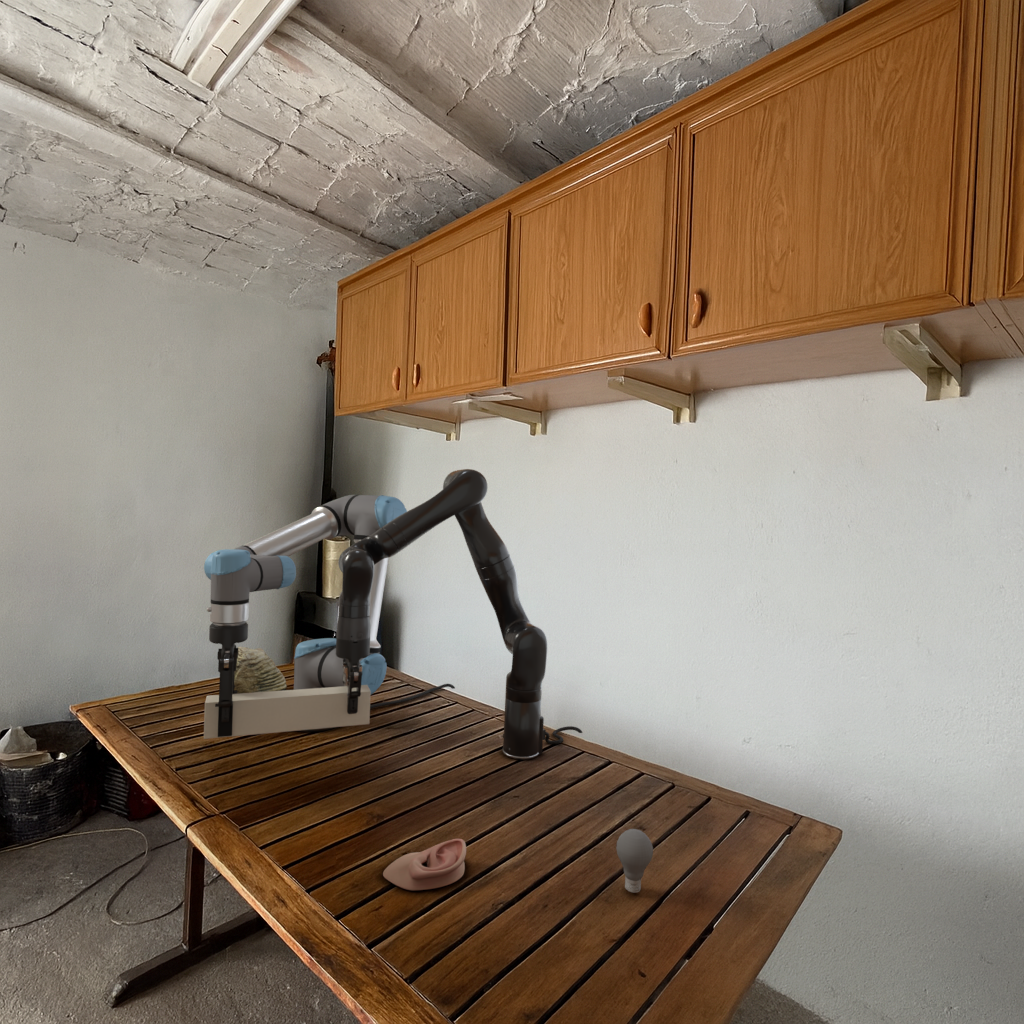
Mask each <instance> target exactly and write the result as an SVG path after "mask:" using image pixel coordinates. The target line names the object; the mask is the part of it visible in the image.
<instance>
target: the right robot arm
mask: <svg viewBox="0 0 1024 1024" xmlns="http://www.w3.org/2000/svg"><path fill="white" fill-rule="evenodd" d="M488 486H489V485H488V482H487V478H486V477H485V476H484V475H483V473H481V472H480V471H478V470H476V469H470V468H464V469H457V470H453V471H451V472H449V473H448V474H447V475H446V477H445V478H444V480H443V484H442V490H441V491H439V492H438V493H436V494H435V495H434V496H433V497H432V496H431V497H430V498H429V499H428V500H426V501H425V502H422V503H421V504H419V505H416V506H415V507H413V508H411V509H409V510H407V512H405V513H403V514H402V515H400V516H398V517H397V518H395V519H393V520H392V521H390V522H389V523H387V524H386V525H384V526H383V527H382V528H380V529H379V530H377V531H376V532H375V533H374V534H372V535H370V536H368V537H366V538H364V539H362V540H360V541H358V542H357V543H355V542H354V543H353V544H352V545H349V546H348V547H347V548H346V549H344V550H343V551H342V552H341V554H340V555H339V557H338V568H339V571H340V572H341V573H342V585H341V592H340V593H339V597H338V614H337V615H338V616H337V622H336V634H335V635H336V637H335V638H336V656H337V657H339V658H342V659H343V666H342V668H343V684H344V686H346V687H347V696H348V703H347V712H348V714H356V713H357V712H358V697H360V695H361V680H362V665H361V663H360V662H359V660H360V659H361V658H365V657H367V656H368V655H369V654H370V630H371V624H370V593H371V589H372V583H373V577H374V565H375V564H376V563H378V562H380V561H381V560H383V559H384V558H389V559H390V558H392V557H394V556H396V555H397V554H398V553H400V552H401V551H404V549H406V548H407V547H408V546H410V545H411V544H413V543H414V542H416V541H417V540H418V539H420V538H421V537H422V536H424V535H425V534H427V533H428V532H430V531H431V530H432V529H434V528H436V527H437V526H438V525H440V524H442V523H444V522H445V521H447V520H448V519H450V518H452V517H455V519H456V521H457V523H458V525H459V528H460V530H461V532H462V535H463V537H464V540H465V543H466V546H467V549H468V551H469V554H470V556H471V559H472V562H473V565H474V568H475V570H476V572H477V575H478V577H479V580H480V583H481V584H482V587H483V589H484V592H485V593H486V596H487V598H488V601H489V602H490V605H491V606H492V608H493V610H494V613H495V615H496V620H497V623H498V626H499V629H500V633H501V637H502V640H503V643H504V646H505V648H506V650H507V651H508V652H509V653H510V654H511V655H512V658H511V659H512V660H511V669H510V671H509V672H507V674H506V677H505V695H504V698H505V699H504V718H503V719H504V720H503V733H502V739H503V741H502V754H503V755H504V756H506V757H508V758H510V759H514V760H521V761H525V760H531V759H535V758H537V757H538V756H539V755H543V747H544V746H543V743H544V742H545V743H546V744H549V745H559V744H562V743H563V742H564V738H563V736H561V735H559V733H561V732H564V731H575V732H578V733H579V734H583V731H582V730H581V728H579V727H578V726H572V725H571V726H570V725H569V726H568V725H567V726H563V727H559V728H557V729H555V730H554V731H552V736H553V737H554V738H555V739H556V740H550V738H551V737H550V736H551V735H550V733H549V732H547V730H546V729H545V728H544V723H545V722H544V721H545V718H544V716H543V715H542V691H543V682H544V678H545V676H546V671H547V660H548V659H547V658H548V638H547V635H546V633H545V631H544V630H543V629H542V628H540V627H539V626H537V625H535V624H533V623H532V622H531V621H530V618H529V617H528V615H527V613H526V611H525V609H524V607H523V604H522V601H521V599H520V593H519V582H518V575H517V570H516V567H515V564H514V560H513V559H512V556H511V554H510V551H509V549H508V547H507V545H506V544H505V542H504V541H503V539H502V537H501V536H500V535H499V533H498V532H497V531H496V529H495V527H493V525H492V524H491V522H490V521H489V519H488V517H487V515H486V512H485V510H484V506H483V505H482V502H483V500H484V499H485V497H486V496H487V493H488V490H489V489H488ZM352 688H356V691H352Z"/></svg>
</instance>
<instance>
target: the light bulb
mask: <svg viewBox="0 0 1024 1024" xmlns="http://www.w3.org/2000/svg"><path fill="white" fill-rule="evenodd" d="M615 849H616V854H617V857H618V859H619V861H620V863H621V865H622V867H623V873H624V874H623V875H624V876H625V878H624V888H625V890H627V891H628V892H630V893H634V894H635V893H639V892H640V891H641V889H642V887H641V886H642V879H643V877H644V875H645V871H646V868H647V867H648V866H649V864H650V863H651V861H652V859H653V855H654V847H653V843H652V841H651V838H649V836H648V835H647V834H646V833H645V832H643V831H642V830H641V829H636V828H629V829H627V830H625V831H623V832H622V833H621V834H620V835H619V837H618V839H617V841H616V847H615Z"/></svg>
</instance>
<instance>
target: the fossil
mask: <svg viewBox="0 0 1024 1024" xmlns="http://www.w3.org/2000/svg"><path fill="white" fill-rule="evenodd" d="M237 648H239V649H238V658H237V666H236V671H235V677H234V685H235V688H234V690H238V692H237V694H240V693H254V692H269V691H284V690H287V687H288V686H287V680H286V678H285V676H284V674H283V673H282V672H281V669H279V668H278V667H277V665H276V663H275V662H274V660H273V659H272V658H271V657H270V656H269V655H268V654H267V653H266V652H265V650H264V649H263V648H260V647H258V648H251V647H247V646H246V647H245V646H238V647H237Z"/></svg>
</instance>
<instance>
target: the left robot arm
mask: <svg viewBox="0 0 1024 1024" xmlns="http://www.w3.org/2000/svg"><path fill="white" fill-rule="evenodd" d="M407 511H408V510H407V508H406V506H405V504H404V502H403V501H402V500H401V499H399V498H398V497H395V496H390V495H383V494H380V495H377V494H376V495H375V494H349V495H344V496H341V497H339V498H336V499H332V500H330V501H328V502H326V503H324V504H322V505H319V506H317V507H314V509H313V510H311V514H308V515H306V516H304V517H301V518H300V519H298V520H295V521H293V522H291V523H289V524H286V525H284V526H282V527H279V528H277V529H275V530H273V531H271V532H269V533H266V534H265V535H262V536H260V537H258V538H255V539H254V540H252V541H249V542H247V543H245V544H242V545H240V546H238V547H235V548H233V549H231V548H230V549H228V548H227V549H226V548H225V549H218V550H216V551H213V552H211V553H209V555H208V556H207V557H206V558H205V561H204V565H203V570H204V573H205V576H206V577H207V578H208V579H209V580H210V606H209V607H207V608H206V612H208V613H209V621H210V622H211V624H209V633H208V641H209V642H210V643H212V644H216V645H217V644H218V645H221V648H218V651H217V655H216V656H217V660H218V665H217V666H218V667H217V671H218V673H219V686H218V688H219V689H218V695H219V702H218V704H215V707H219V712H218V737H221V738H225V737H224V736H232V720H233V701H232V695H233V694H237V692H238V690H234V688H235V685H234V677H235V671H236V666H237V658H238V649H239V648H238V647H237V645H236V644H240V643H244V642H246V641H247V640H248V638H249V623H248V622H247V621H248V620H250V619H249V618H250V617H249V615H250V593H254V592H260V591H269V590H270V591H271V590H280V589H284V588H288V587H290V586H291V585H292V584H294V582H295V579H296V577H297V567H296V564H295V562H294V560H293V559H292V558H291V557H290V556H293V555H295V554H297V553H298V552H300V551H302V550H305V549H307V548H308V547H310V546H313V545H315V544H316V543H319V542H320V541H323V540H330V541H331V540H332V539H335V538H338V537H340V536H354V537H353V543H354V544H355V543H357V542H358V541H360V540H362V539H364V538H366V537H368V536H370V535H372V534H374V533H375V532H376V531H377V530H379V529H380V528H382V527H383V526H384V525H386V524H387V523H389V522H390V521H392V520H393V519H395V518H397V517H398V516H400V515H402V514H403V513H405V512H407ZM389 559H390V557H389V558H384V559H383V560H381V561H380V562H378V563H376V564H375V565H374V577H373V583H372V589H371V593H370V624H371V630H370V654H369V655H368V656H367V657H365V658H361V659H360V660H359V662H360V663H361V665H362V680H361V685H368V687H369V689H370V691H371V695H373V694H374V693H376V692H377V690H378V689H379V688H380V687H381V686H382V684H383V682H384V680H385V678H386V675H387V669H388V666H387V665H388V664H387V662H386V658H385V657H384V656H383V655H382V654H381V649H382V648H381V646H382V645H381V644H380V643H379V641H378V640H377V638H378V637H377V636H378V629H379V625H380V624H379V623H380V622H379V621H380V617H381V612H382V611H381V610H382V604H383V597H384V591H385V584H386V577H387V573H388V565H389ZM294 653H295V654H294V657H293V658H294V660H293V662H294V663H293V665H294V666H293V690H298V689H313V688H328V687H342V686H344V684H343V668H342V666H343V659H342V658H339V657H337V656H336V637H324V638H323V637H322V638H313V639H308V640H304V641H302V642H299V643H298V644H297V645H296V647H295V652H294ZM445 688H450V689H452V690H454V689H456V686H454V685H453V684H451V683H444V684H441V685H438V686H435V687H432V688H429V689H426V690H424V691H422V692H420V693H417V694H414V695H411V696H408V697H405V698H401V699H396V700H395V699H394V700H390V701H384V702H378V703H374V704H370V710H371V709H375V708H379V707H385V706H391V705H397V704H402V703H405V702H408V701H409V702H410V701H412V700H415V699H417V698H420V697H423V696H426V695H428V694H430V693H432V692H434V691H439V690H442V689H445ZM335 728H336V727H331V728H320V729H309V730H298V731H297V732H301V733H316V732H325V731H329V730H332V729H335ZM232 737H233V736H232Z"/></svg>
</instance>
